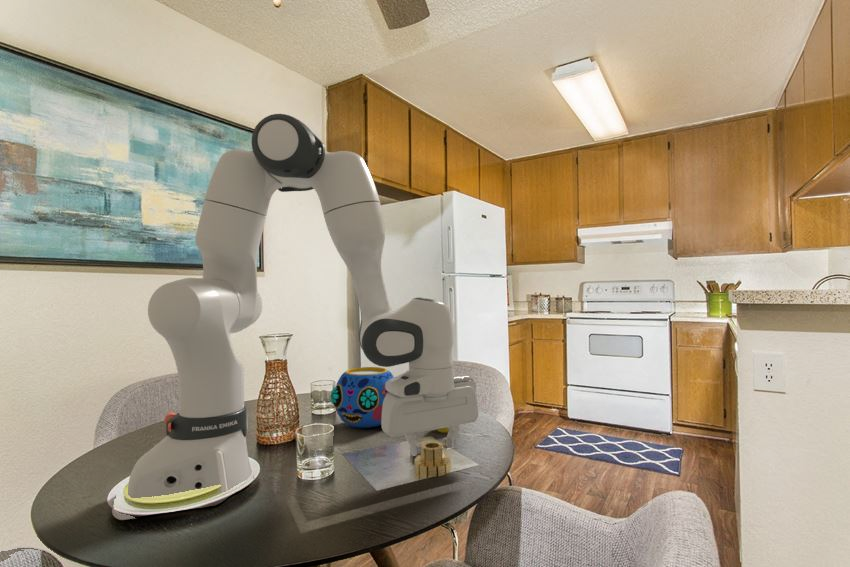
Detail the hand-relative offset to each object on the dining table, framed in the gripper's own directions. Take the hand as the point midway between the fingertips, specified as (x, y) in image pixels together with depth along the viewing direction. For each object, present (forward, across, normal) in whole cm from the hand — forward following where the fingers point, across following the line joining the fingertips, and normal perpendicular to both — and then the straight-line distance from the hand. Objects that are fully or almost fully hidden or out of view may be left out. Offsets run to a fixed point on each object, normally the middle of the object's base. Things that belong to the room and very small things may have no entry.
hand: (432, 451), depth 84 cm
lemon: (+5, -14, -19) cm, 24 cm away
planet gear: (+4, 0, 0) cm, 4 cm away
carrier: (+5, +2, -7) cm, 9 cm away
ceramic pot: (+5, 0, -36) cm, 36 cm away
